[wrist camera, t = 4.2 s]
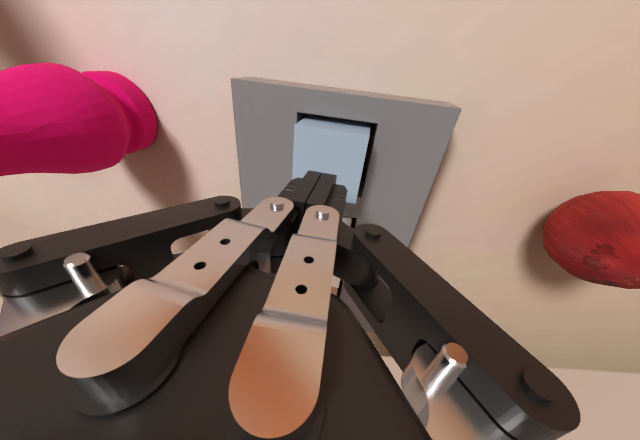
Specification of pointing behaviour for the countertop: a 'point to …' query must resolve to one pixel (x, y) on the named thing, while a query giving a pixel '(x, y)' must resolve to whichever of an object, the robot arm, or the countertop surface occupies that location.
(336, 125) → the blue key
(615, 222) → the onion
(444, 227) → the countertop surface
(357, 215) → the board
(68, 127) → the pepper mill
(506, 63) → the countertop surface
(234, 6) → the countertop surface
